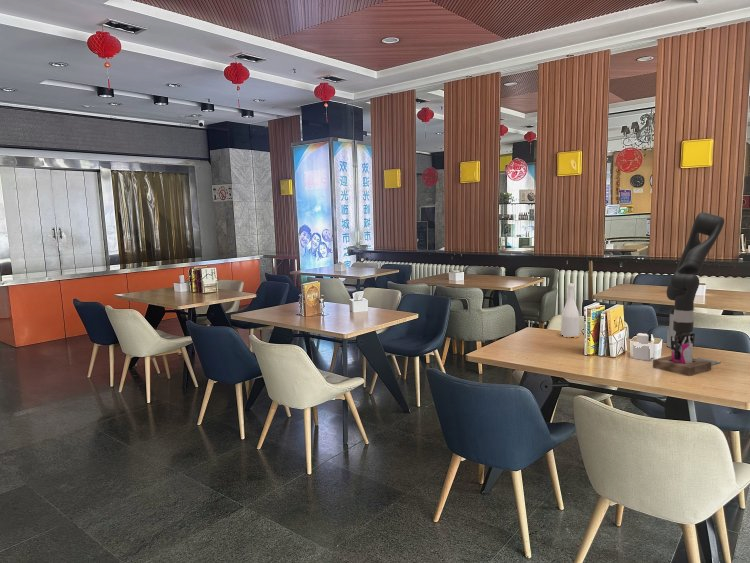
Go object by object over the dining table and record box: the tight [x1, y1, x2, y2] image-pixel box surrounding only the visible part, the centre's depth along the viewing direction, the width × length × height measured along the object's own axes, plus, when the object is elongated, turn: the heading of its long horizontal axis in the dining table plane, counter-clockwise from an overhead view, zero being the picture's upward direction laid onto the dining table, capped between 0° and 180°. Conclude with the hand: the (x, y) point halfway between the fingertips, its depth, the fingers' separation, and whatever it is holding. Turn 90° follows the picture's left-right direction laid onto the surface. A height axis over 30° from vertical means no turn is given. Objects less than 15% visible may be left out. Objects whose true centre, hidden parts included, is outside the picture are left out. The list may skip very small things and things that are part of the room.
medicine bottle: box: [632, 332, 652, 362], centre depth 250 cm, size 7×7×12 cm
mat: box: [694, 357, 722, 366], centre depth 241 cm, size 10×10×1 cm
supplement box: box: [671, 343, 694, 364], centre depth 231 cm, size 6×6×12 cm
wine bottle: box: [560, 282, 581, 337], centre depth 299 cm, size 10×10×30 cm
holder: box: [652, 354, 712, 377], centre depth 231 cm, size 16×16×4 cm
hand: (682, 358), depth 231 cm, fingers closed on supplement box, 6 cm apart
